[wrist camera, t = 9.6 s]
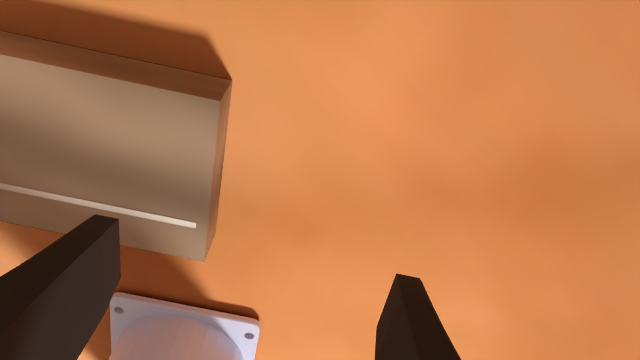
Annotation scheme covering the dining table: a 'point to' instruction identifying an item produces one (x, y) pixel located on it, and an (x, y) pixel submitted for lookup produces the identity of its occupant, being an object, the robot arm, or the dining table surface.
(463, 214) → the dining table surface
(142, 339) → the robot arm
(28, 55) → the plank
